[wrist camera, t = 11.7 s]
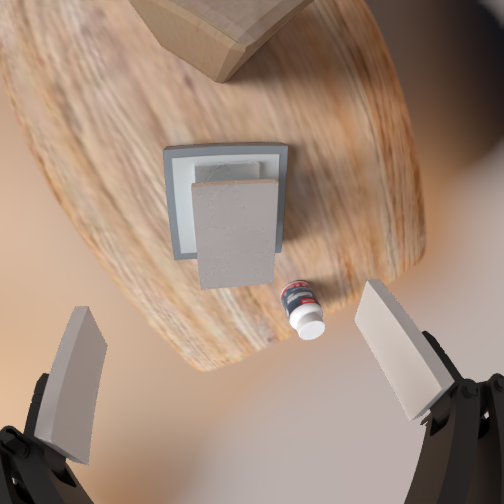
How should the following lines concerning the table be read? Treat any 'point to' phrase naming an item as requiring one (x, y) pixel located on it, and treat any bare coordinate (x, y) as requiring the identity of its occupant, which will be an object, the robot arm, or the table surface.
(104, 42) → the table surface
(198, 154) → the stand
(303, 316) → the pill bottle
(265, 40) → the wooden block
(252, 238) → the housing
